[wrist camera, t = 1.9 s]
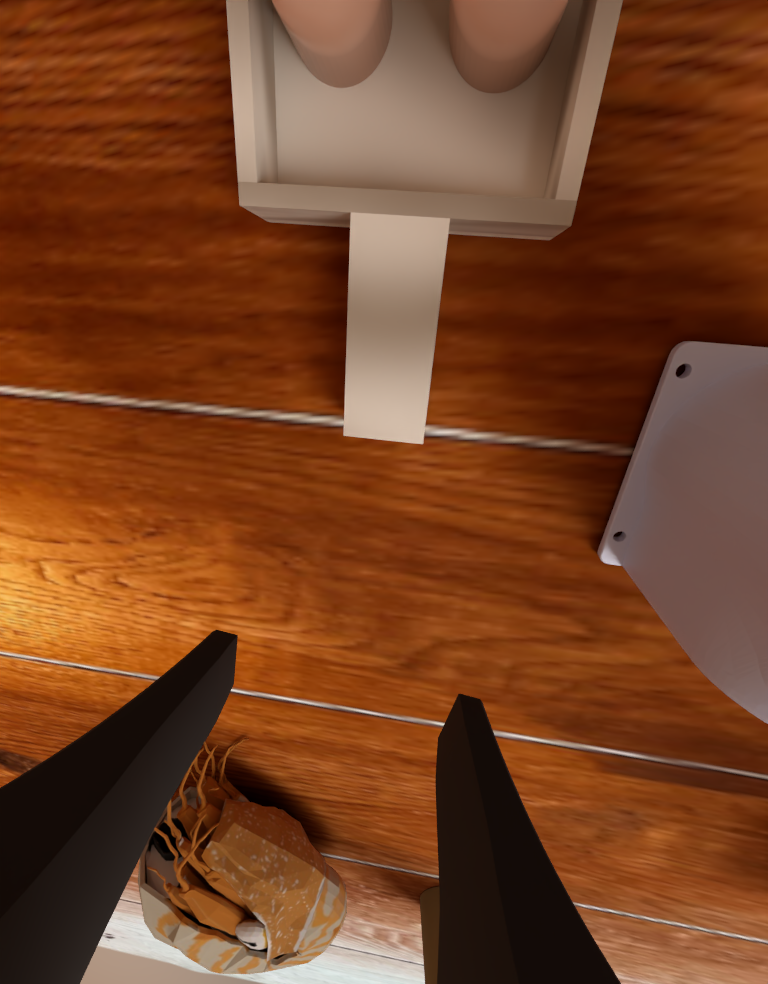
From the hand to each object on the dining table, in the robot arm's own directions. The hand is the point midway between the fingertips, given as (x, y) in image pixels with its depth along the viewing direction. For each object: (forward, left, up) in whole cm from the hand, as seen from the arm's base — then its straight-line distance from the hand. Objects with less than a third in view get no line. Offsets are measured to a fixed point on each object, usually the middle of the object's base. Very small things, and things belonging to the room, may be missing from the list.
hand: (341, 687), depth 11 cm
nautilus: (-26, +8, -9) cm, 29 cm away
